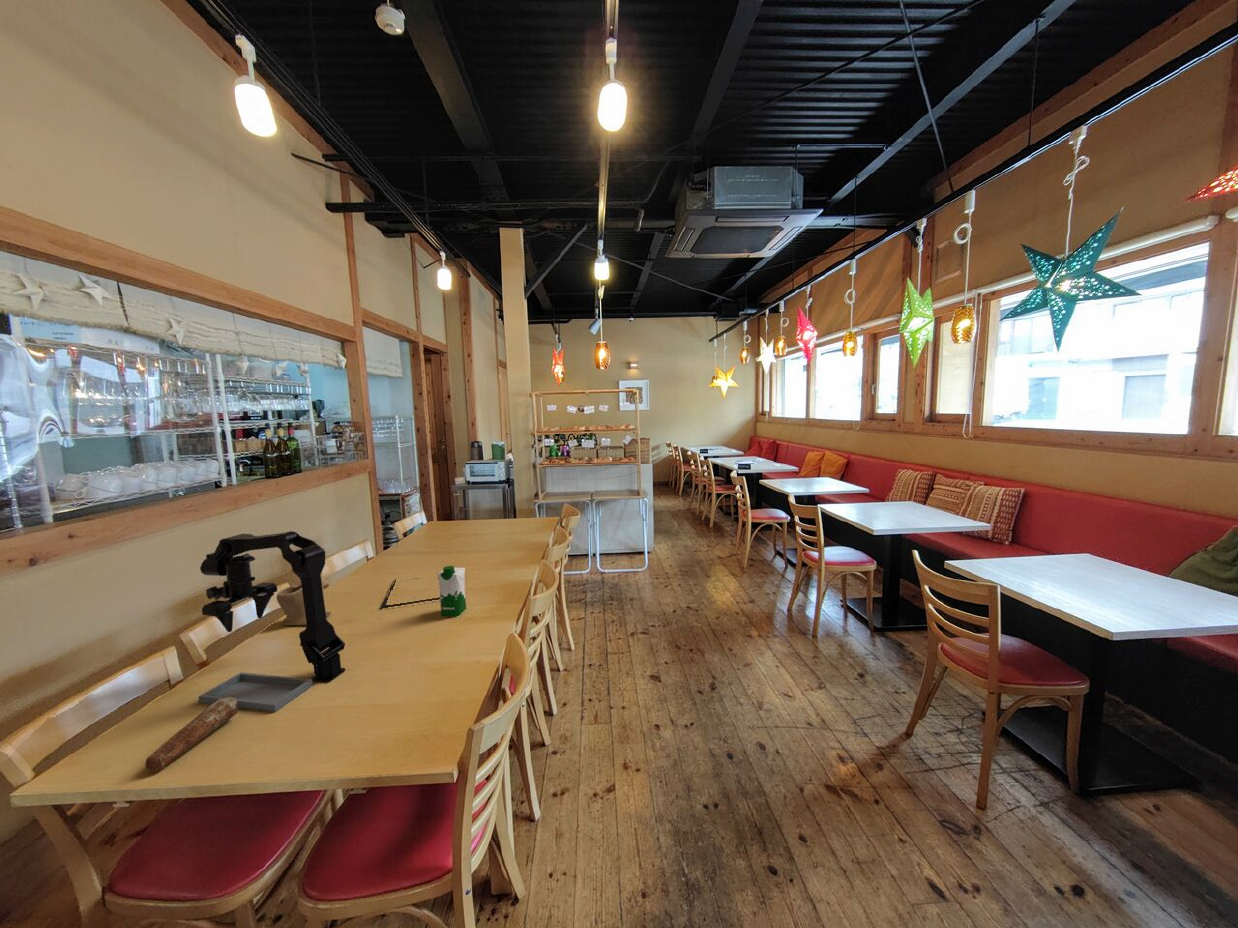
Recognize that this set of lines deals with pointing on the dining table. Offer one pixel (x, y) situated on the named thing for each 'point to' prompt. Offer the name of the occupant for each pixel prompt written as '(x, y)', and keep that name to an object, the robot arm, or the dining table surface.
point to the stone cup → (293, 605)
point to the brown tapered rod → (193, 733)
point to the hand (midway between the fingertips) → (245, 624)
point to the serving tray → (258, 691)
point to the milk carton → (452, 591)
